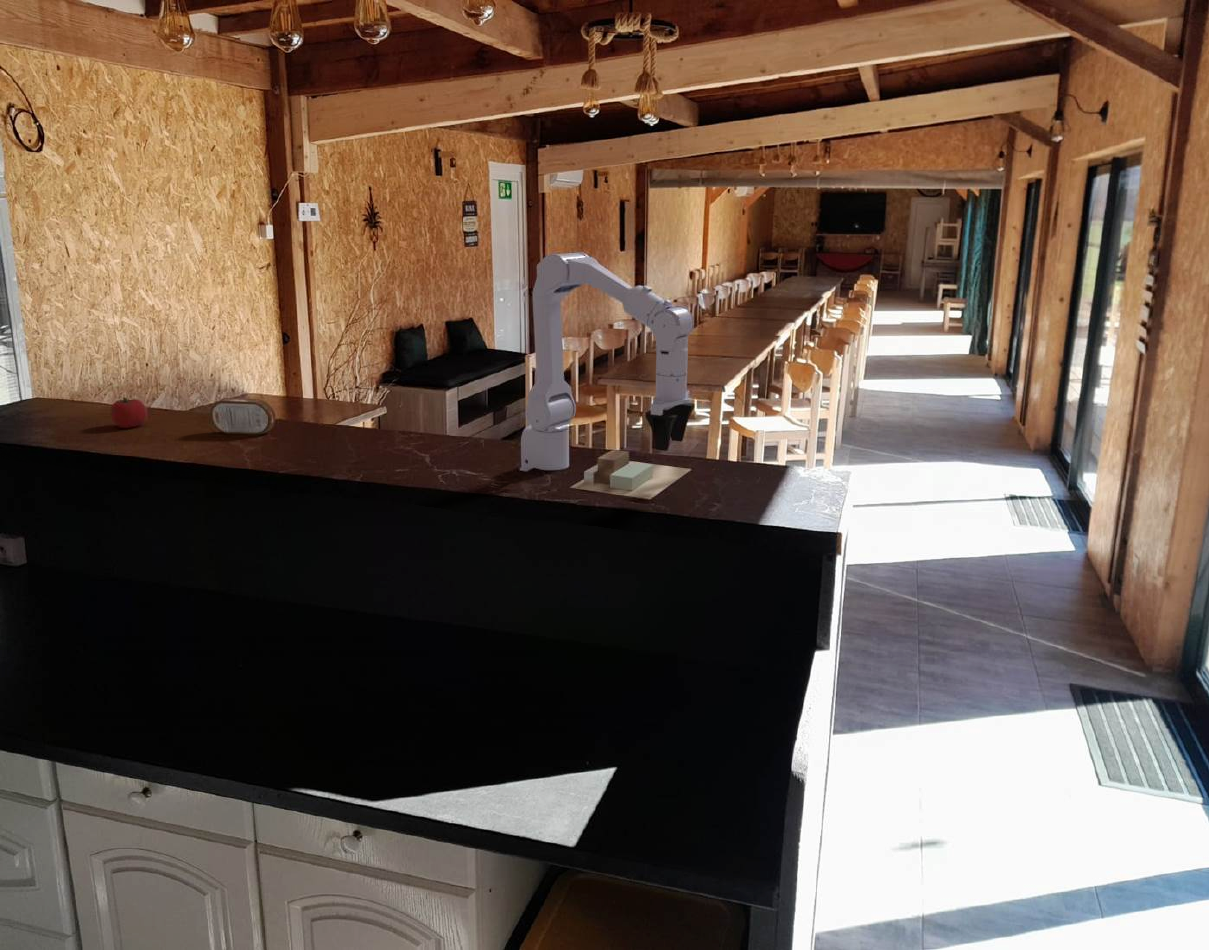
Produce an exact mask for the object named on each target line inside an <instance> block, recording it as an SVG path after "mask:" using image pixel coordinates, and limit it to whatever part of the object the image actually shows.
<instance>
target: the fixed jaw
mask: <svg viewBox="0 0 1209 950" xmlns="http://www.w3.org/2000/svg"><path fill="white" fill-rule="evenodd" d="M583 480H584V484H586V485H593V486H594V485H595V484H597V483H598V463H597V464H595V465H594V466H592V467H590V468H588V469H586V470H585V471H584V472H583Z"/></svg>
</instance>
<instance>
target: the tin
mask: <svg viewBox="0 0 1209 950" xmlns="http://www.w3.org/2000/svg"><path fill="white" fill-rule="evenodd" d="M210 421H211V422H212V425H213V426H214V427H215V428H216V429H217V430H218V431H219V432H221V433H224V434H231V435H232V434H233V435H253V436H254V435H255V436H257V435H259V436H260V435H263V434H265V433H267V432H268V431H271V430H272V429H273V428H274V426H275V423H276V413H275V411H274V408H273V407H272V406H271V404H270V403H268V402H267V401H265V400H264V399H261V398H245V397H242V398H241V397H224V398H221V399H219V400H218V401H217V402H215V403H214V404H213V405H212V407H211V409H210Z"/></svg>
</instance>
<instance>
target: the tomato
mask: <svg viewBox="0 0 1209 950" xmlns="http://www.w3.org/2000/svg"><path fill="white" fill-rule="evenodd" d="M148 412H149V411H148V409H147V406H146V405H145V404H144V403H143V402H142V401H141V400H139V399H136V398H135V399H127V397H125V396H124V397H123V399H120V400H115V402H114V403H112V406H111V408H110V416H111V420H112V421H113V422H114V423H115V425H117V426H118V427H119V428H121V429H130V428H136V427H139V426H143V425H144V424H145V423H146V421H147V419H148Z"/></svg>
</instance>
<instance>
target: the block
mask: <svg viewBox="0 0 1209 950" xmlns="http://www.w3.org/2000/svg"><path fill="white" fill-rule="evenodd" d="M629 461H630V451H626V450H625V451H624V450H617V449H612V450H610V451H608V452H607V453H604V454H603V455H600V456H599V457H598V458H597V464H598V483H600V484H607V485H610V475H611V474H612V473H614V472H616V471H617V470H619V469H621V468H622V467H624V466H626V465H627V464H629Z"/></svg>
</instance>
